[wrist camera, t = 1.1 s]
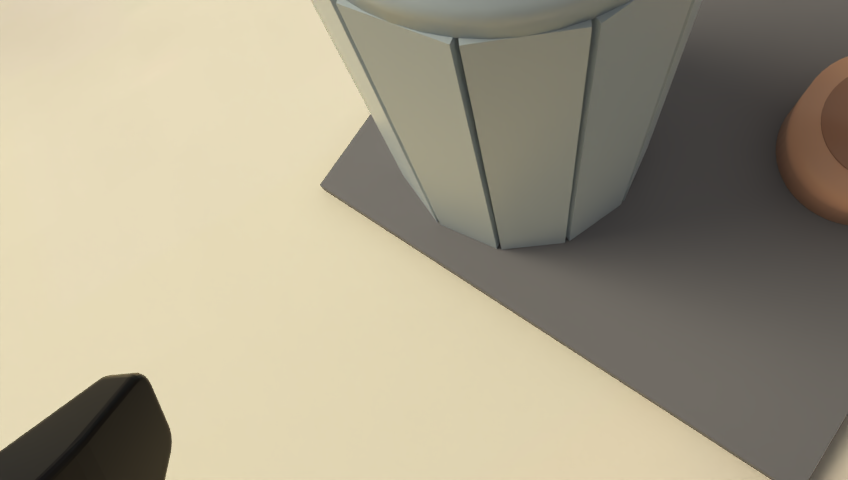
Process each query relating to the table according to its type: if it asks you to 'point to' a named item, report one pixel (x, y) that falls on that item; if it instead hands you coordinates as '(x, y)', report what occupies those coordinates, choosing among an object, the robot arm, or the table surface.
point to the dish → (818, 145)
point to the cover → (514, 103)
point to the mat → (686, 247)
